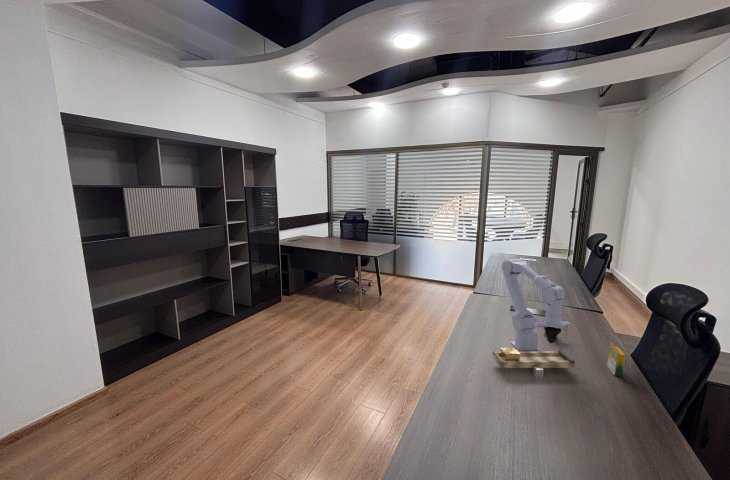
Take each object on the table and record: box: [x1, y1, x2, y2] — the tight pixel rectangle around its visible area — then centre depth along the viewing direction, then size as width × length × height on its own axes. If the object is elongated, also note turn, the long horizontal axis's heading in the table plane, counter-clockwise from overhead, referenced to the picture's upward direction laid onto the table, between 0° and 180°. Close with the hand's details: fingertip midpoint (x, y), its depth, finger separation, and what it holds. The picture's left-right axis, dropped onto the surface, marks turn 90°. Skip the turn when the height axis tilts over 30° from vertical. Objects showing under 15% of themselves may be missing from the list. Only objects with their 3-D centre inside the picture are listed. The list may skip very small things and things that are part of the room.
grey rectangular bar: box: [532, 367, 545, 379], centre depth 127 cm, size 3×14×4 cm, turn 179°
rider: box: [499, 347, 520, 361], centre depth 127 cm, size 6×5×4 cm
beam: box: [491, 349, 576, 369], centre depth 127 cm, size 31×9×4 cm, turn 89°
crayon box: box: [606, 341, 627, 378], centre depth 124 cm, size 7×3×12 cm, turn 160°
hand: (550, 342), depth 129 cm, fingers closed
